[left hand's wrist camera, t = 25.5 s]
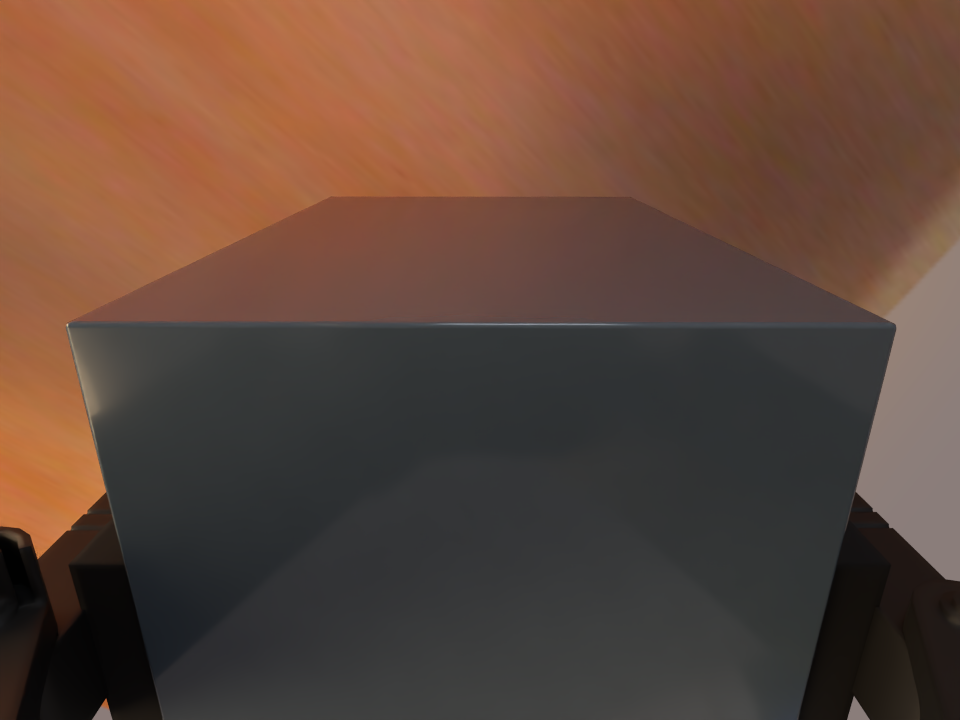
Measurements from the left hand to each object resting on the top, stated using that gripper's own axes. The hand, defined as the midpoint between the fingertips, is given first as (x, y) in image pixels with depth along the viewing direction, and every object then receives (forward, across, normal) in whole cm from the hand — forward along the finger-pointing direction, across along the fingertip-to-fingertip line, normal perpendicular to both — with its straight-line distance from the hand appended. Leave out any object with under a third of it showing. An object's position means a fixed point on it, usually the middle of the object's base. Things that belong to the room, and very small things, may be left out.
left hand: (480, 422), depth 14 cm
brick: (+5, 0, 0) cm, 5 cm away
